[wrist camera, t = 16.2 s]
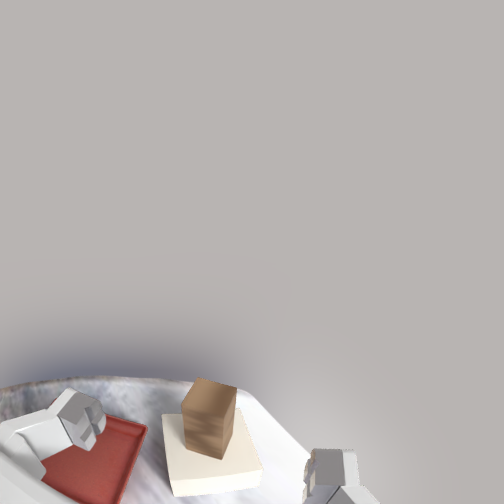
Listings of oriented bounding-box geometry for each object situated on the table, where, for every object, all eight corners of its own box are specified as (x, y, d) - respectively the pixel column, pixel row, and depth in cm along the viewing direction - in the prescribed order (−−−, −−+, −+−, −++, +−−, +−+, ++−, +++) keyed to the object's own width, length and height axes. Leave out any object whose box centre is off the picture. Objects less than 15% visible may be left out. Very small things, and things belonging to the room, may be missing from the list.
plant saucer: (16, 476, 22) (6, 465, 21) (61, 407, 40) (56, 395, 39) (119, 527, 22) (113, 519, 21) (152, 437, 39) (149, 425, 38)
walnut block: (186, 449, 33) (181, 404, 29) (199, 424, 37) (197, 377, 34) (221, 460, 32) (224, 417, 28) (232, 434, 36) (237, 387, 33)
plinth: (174, 497, 29) (169, 480, 27) (165, 436, 40) (161, 414, 38) (258, 487, 33) (263, 469, 31) (237, 430, 44) (239, 408, 42)
